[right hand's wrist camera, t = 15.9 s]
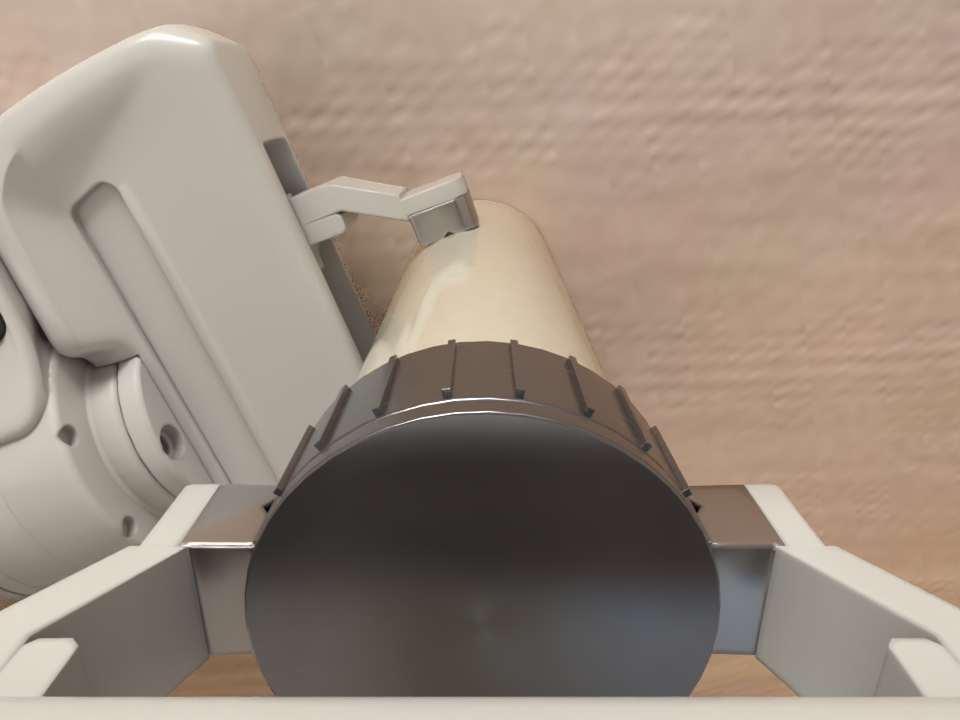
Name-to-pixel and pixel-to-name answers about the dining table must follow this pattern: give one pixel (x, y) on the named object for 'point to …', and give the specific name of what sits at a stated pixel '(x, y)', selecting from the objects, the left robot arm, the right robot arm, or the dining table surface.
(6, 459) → the left robot arm
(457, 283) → the jar
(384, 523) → the lid
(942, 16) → the dining table surface
